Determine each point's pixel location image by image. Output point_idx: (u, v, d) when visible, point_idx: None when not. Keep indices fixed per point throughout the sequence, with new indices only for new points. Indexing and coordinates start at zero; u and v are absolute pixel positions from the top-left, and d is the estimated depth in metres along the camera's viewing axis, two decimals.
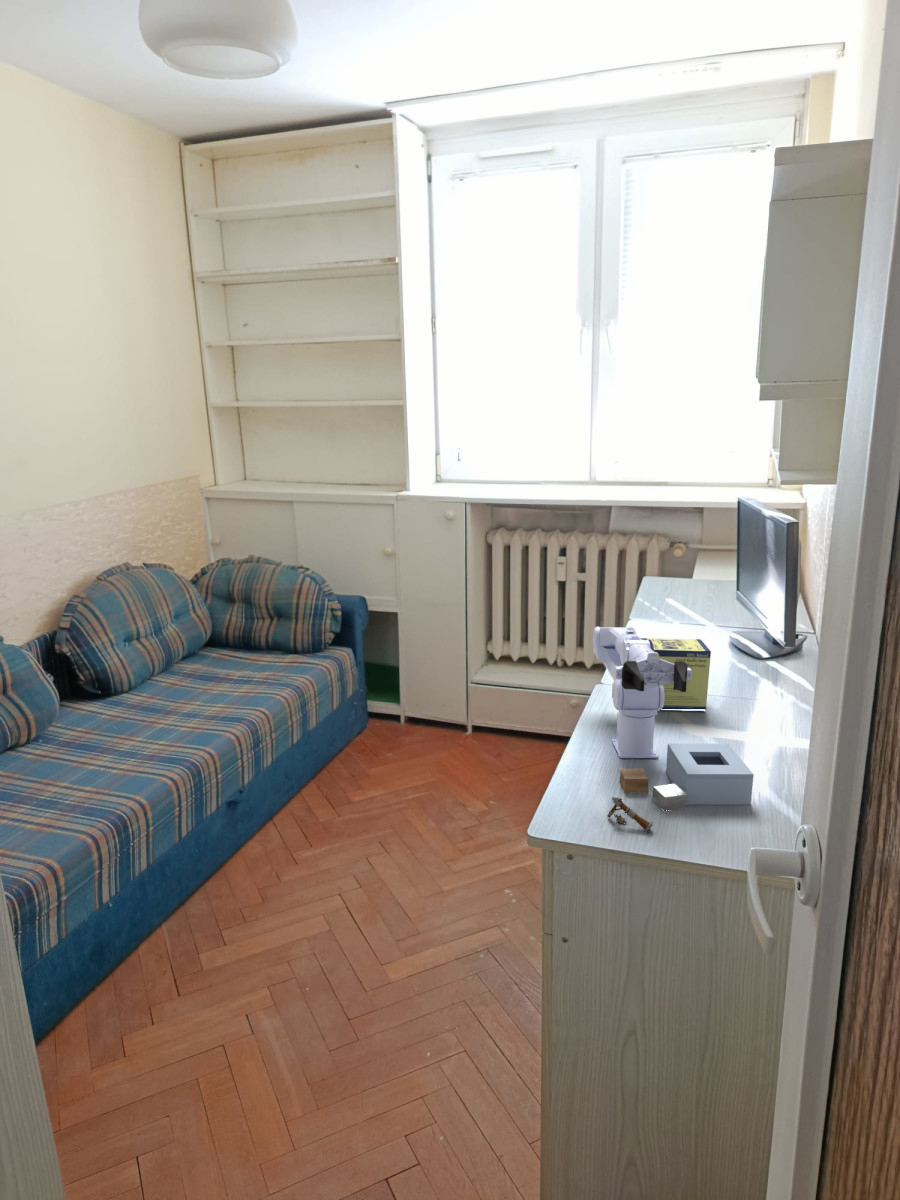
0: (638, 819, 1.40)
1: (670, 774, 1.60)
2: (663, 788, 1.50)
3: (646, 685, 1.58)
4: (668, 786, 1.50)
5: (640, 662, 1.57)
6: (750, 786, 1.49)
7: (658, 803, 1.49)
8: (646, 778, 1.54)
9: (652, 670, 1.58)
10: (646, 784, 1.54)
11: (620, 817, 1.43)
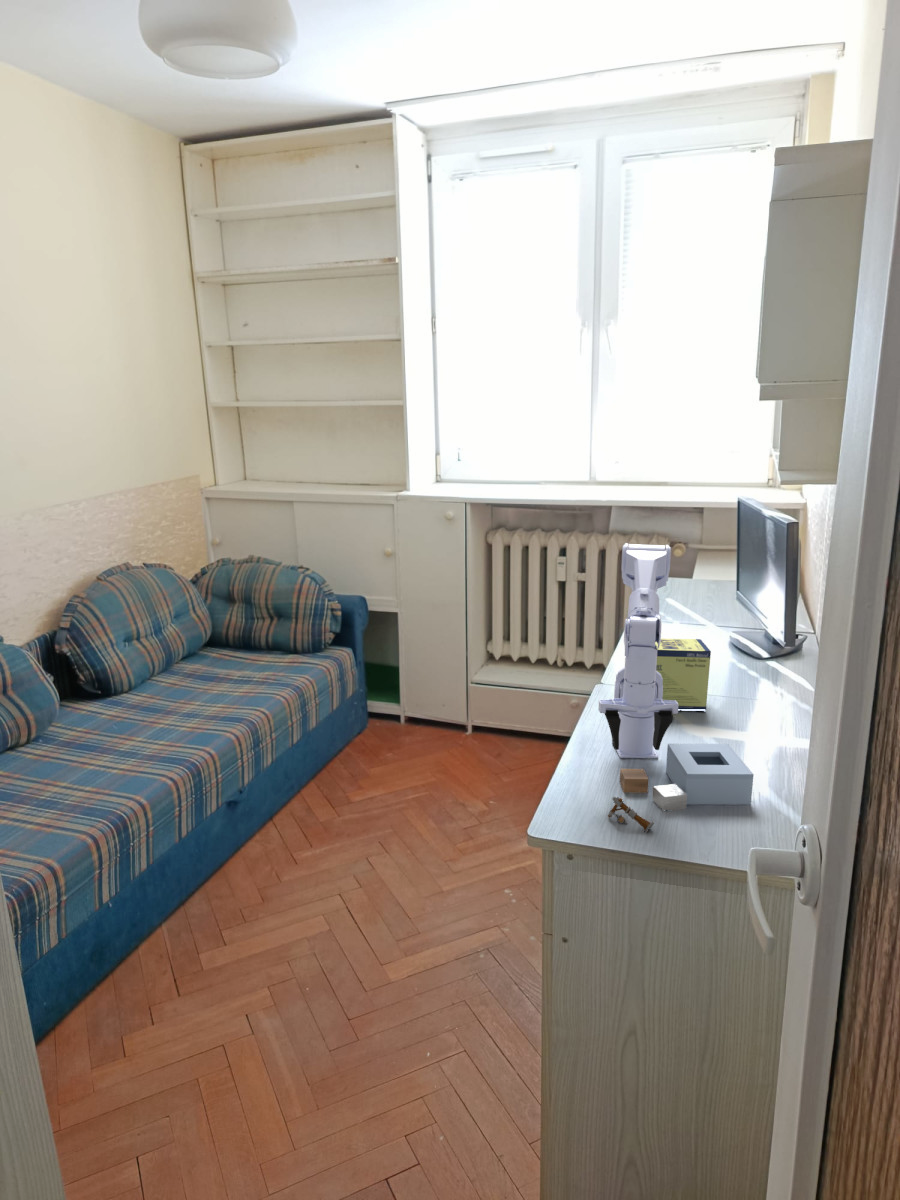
0: (639, 819, 1.40)
1: (670, 774, 1.60)
2: (663, 788, 1.50)
3: None
4: (668, 786, 1.50)
5: (627, 709, 1.51)
6: (750, 786, 1.49)
7: (658, 803, 1.49)
8: (646, 778, 1.54)
9: None
10: (646, 784, 1.54)
11: (621, 817, 1.43)
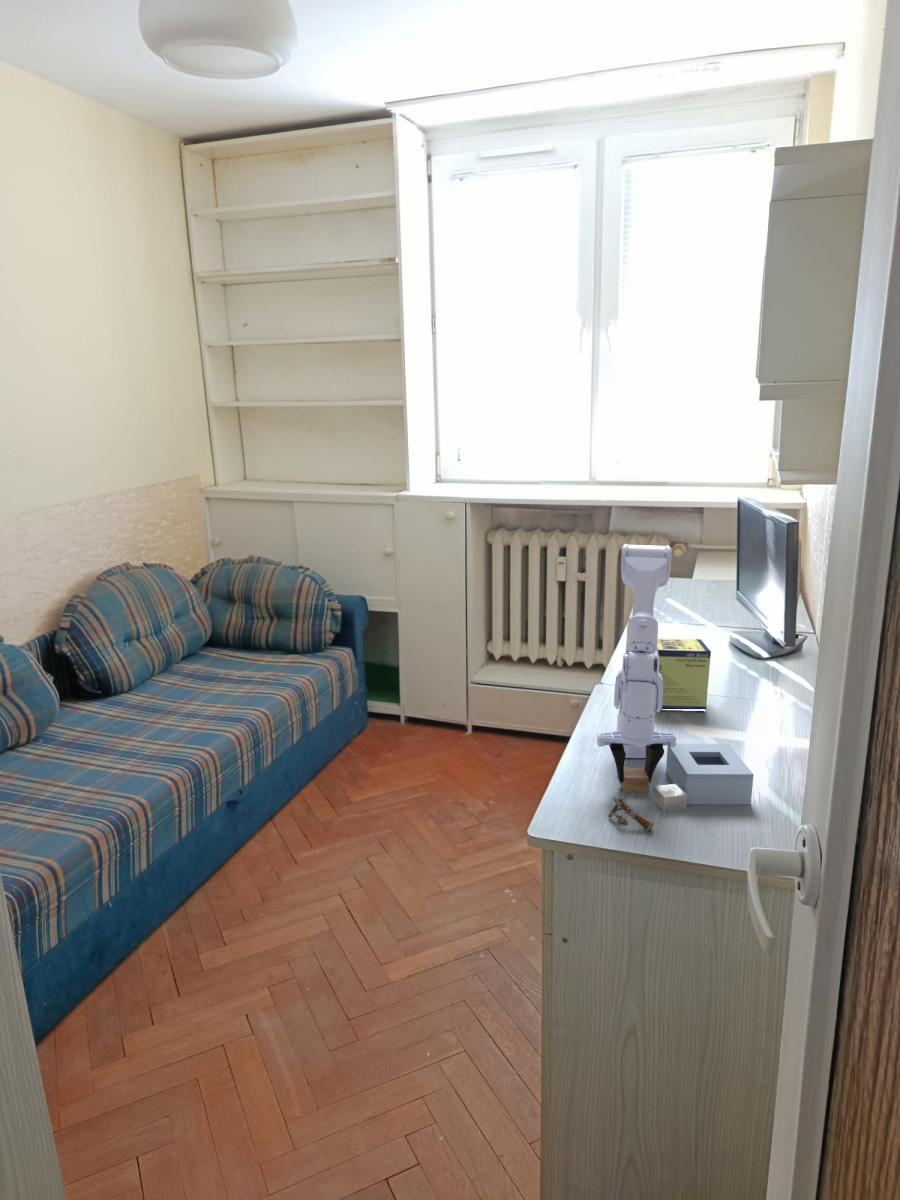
0: (639, 819, 1.40)
1: (670, 774, 1.60)
2: (663, 788, 1.50)
3: None
4: (668, 786, 1.50)
5: (625, 743, 1.52)
6: (750, 786, 1.49)
7: (658, 803, 1.49)
8: (646, 777, 1.54)
9: None
10: (646, 783, 1.54)
11: (621, 817, 1.43)
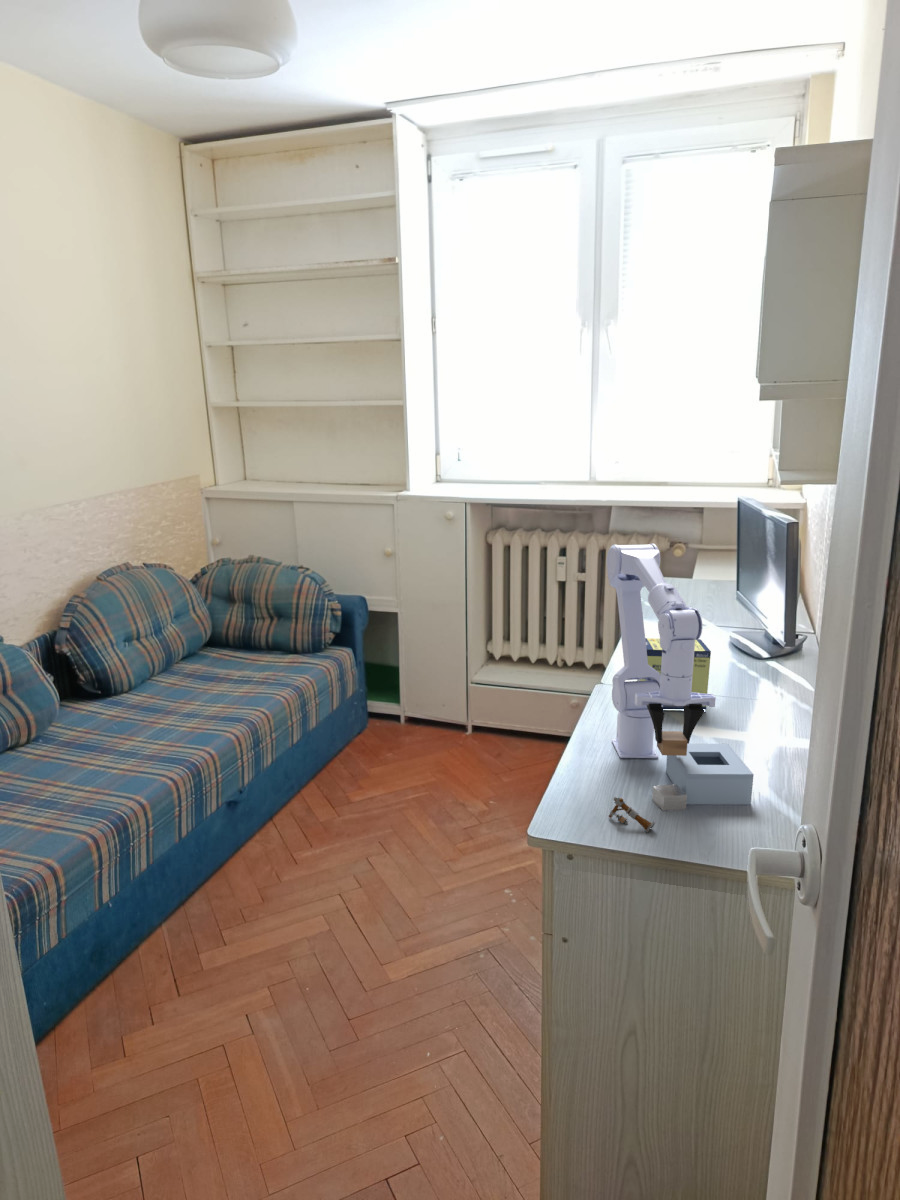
0: (639, 819, 1.40)
1: (670, 774, 1.60)
2: (663, 788, 1.50)
3: None
4: (668, 786, 1.50)
5: (664, 703, 1.50)
6: (750, 786, 1.49)
7: (658, 803, 1.49)
8: (685, 740, 1.52)
9: None
10: (685, 746, 1.52)
11: (621, 817, 1.43)
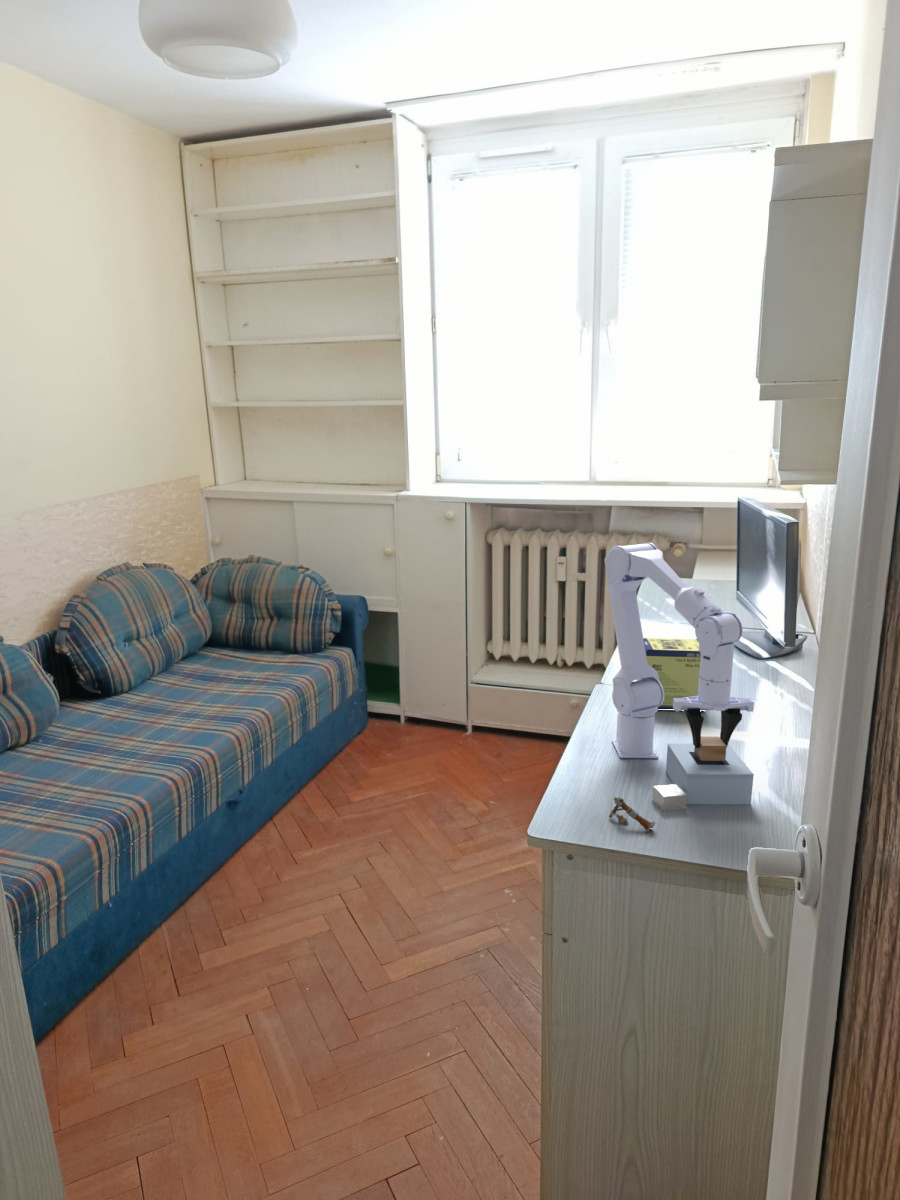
0: (640, 819, 1.40)
1: (670, 774, 1.60)
2: (663, 788, 1.50)
3: None
4: (669, 786, 1.50)
5: (703, 707, 1.51)
6: (750, 786, 1.49)
7: (658, 803, 1.49)
8: (724, 745, 1.52)
9: None
10: (724, 751, 1.52)
11: (622, 817, 1.43)
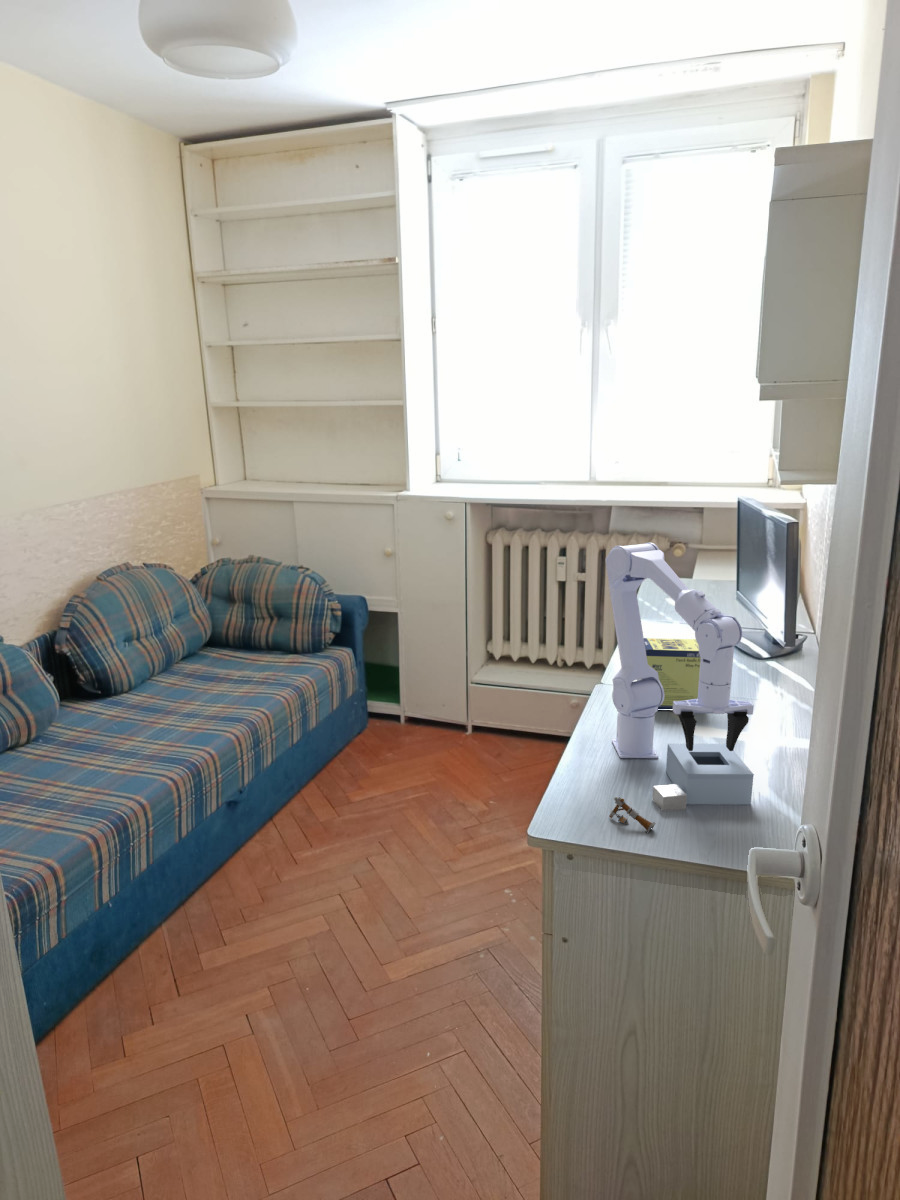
0: (640, 819, 1.40)
1: (670, 774, 1.60)
2: (663, 788, 1.50)
3: None
4: (669, 786, 1.50)
5: (702, 710, 1.51)
6: (750, 786, 1.49)
7: (657, 803, 1.49)
8: None
9: None
10: None
11: (622, 817, 1.43)
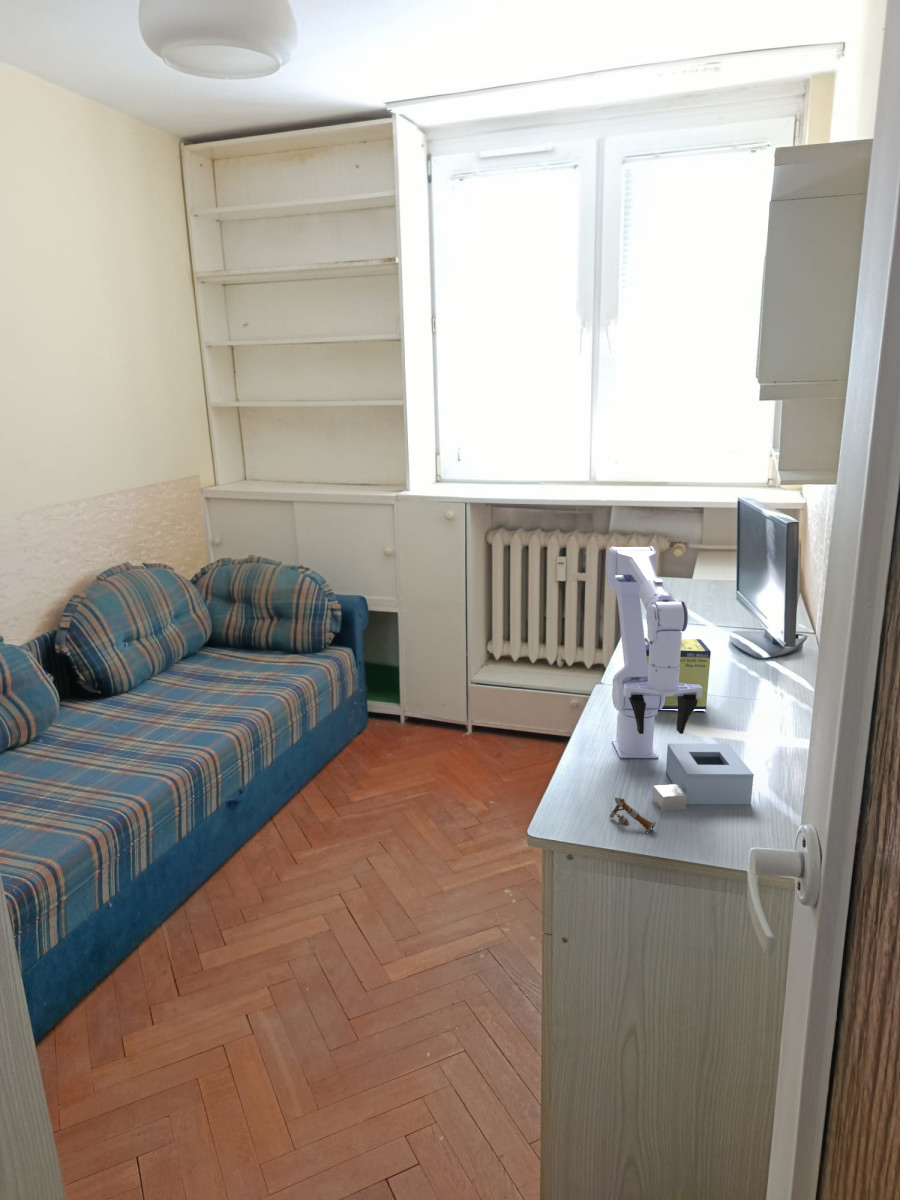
0: (640, 819, 1.40)
1: (670, 774, 1.60)
2: (664, 788, 1.50)
3: None
4: (669, 786, 1.50)
5: (652, 693, 1.53)
6: (750, 786, 1.49)
7: (657, 802, 1.49)
8: None
9: None
10: None
11: (622, 817, 1.43)
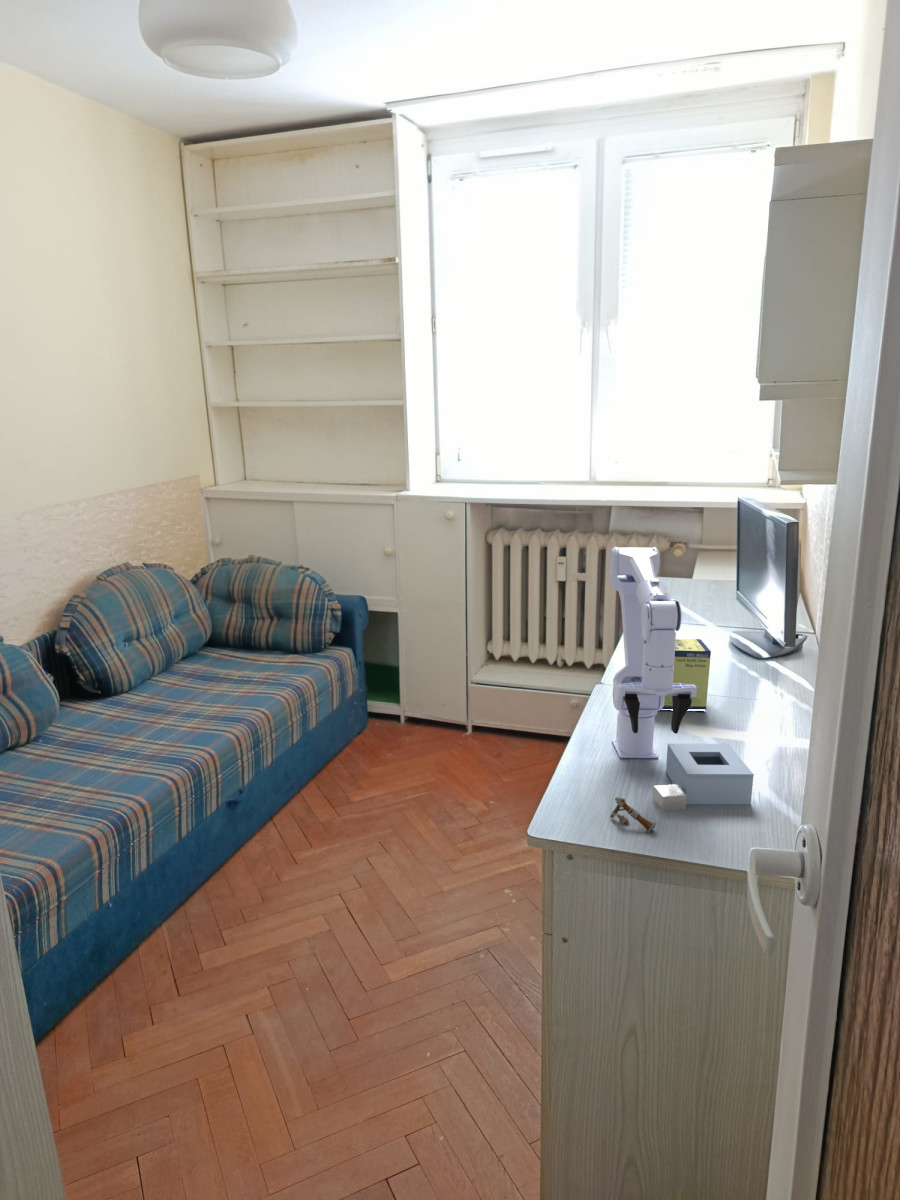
0: (641, 820, 1.40)
1: (670, 774, 1.60)
2: (664, 787, 1.50)
3: None
4: (669, 786, 1.50)
5: (646, 692, 1.53)
6: (750, 786, 1.49)
7: (657, 802, 1.49)
8: None
9: None
10: None
11: (623, 818, 1.43)
